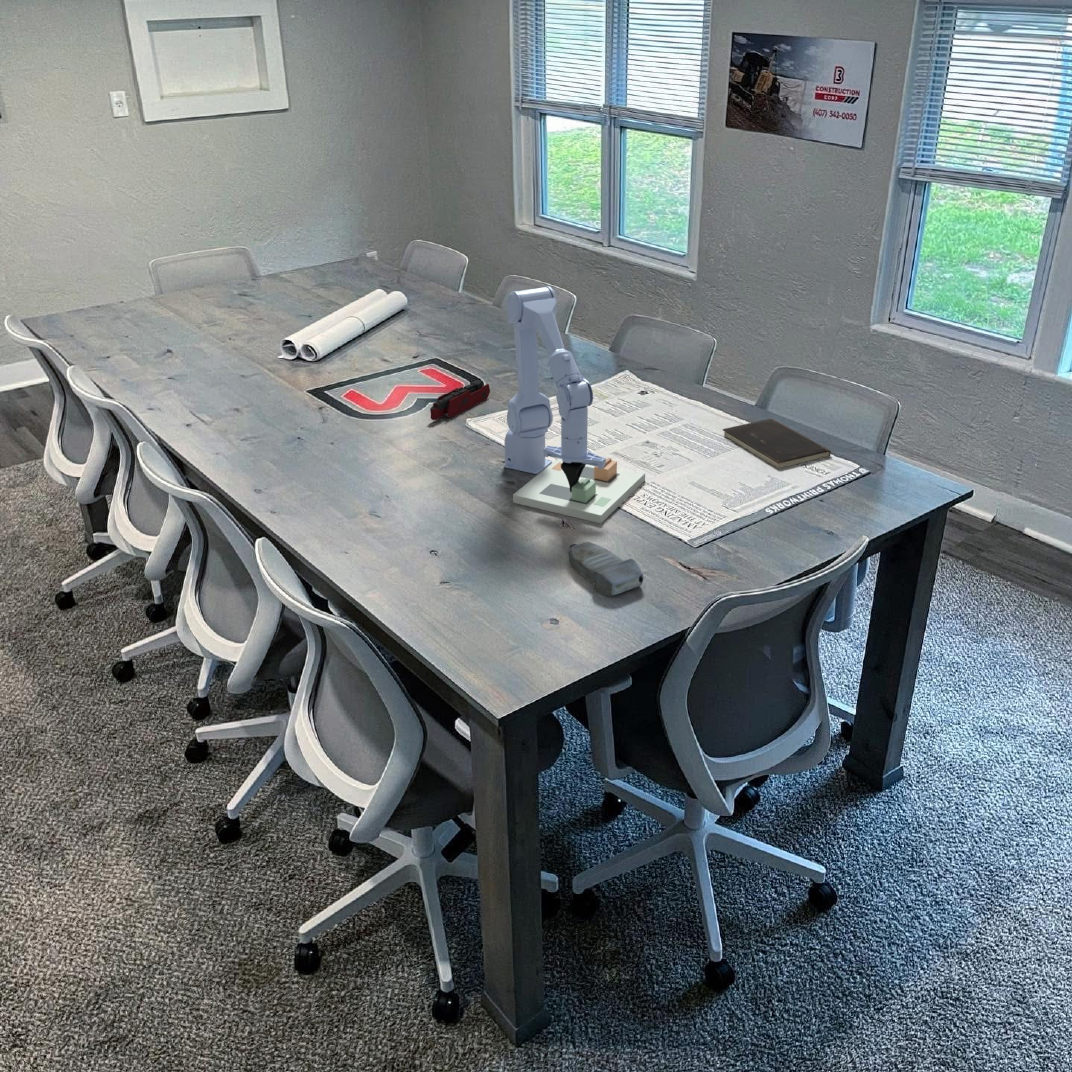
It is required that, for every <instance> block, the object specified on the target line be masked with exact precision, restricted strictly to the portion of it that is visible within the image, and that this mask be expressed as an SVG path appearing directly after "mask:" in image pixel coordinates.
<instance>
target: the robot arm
mask: <svg viewBox="0 0 1072 1072" xmlns="http://www.w3.org/2000/svg"><path fill="white" fill-rule="evenodd" d="M557 299H558V298H557V295H556V292H555V290H554V289H553V288H552V287H551V286H549V285H547V286H543V287H538V288H537V287H536V288H530V289H523V290H512V291H511V292H510V293H509V295H508V296H507V298H506V310H507V319H508V320H507V321H508V324H509V325H510V326H511V325H512V326H513V330H514V341H515V343H514V344H515V345H514V346H515V358H516V371H517V372H516V373H517V387H518V392H517V393H516V394H515V395H514V396H513V397H512V398H510V399H509V401H508V402H507V412H506V413H507V414H506V423H507V427H508V430H507V431H506V433H505V437H504V464H503V467H504V468H506V469H511V470H515V471H520V472H525V473H529V474H534V475H538V474H539V473H541V472H542V471H543V470H544V469H546V468H547V467H548V466H549V465H551V464H552V463H553V460H551V459H546V458H548V457H550V458H556V459H558V458H560V459H562V461H563V463H562V464H561V469H562V470H563V472H564V473H565V475H566V477H567V480H568V483H569V486H570V492H572V487H573V486H574V485H575V484H576V483H578V481H579V478H580V475H581V473H582V471H583V469H584V467H585V465H586V464H587V465H592V466H597V467H598V468H599V469H602V468H604V467H605V466H606V459H607V458H606V457H603V456H600V455H598V454H595V453H593V452H591V451H589V450H588V418H589V417H588V413H589V409H588V408H589V407H590V406H591V405H592V404H593V402H594V392H593V388H592V385H591V383H590V381H588V379H586V377H585V376H584V375H581V373H580V370H579V368H578V365H577V363H576V361H575V357H574V355H573V353H572V352H571V351H570V350H567V349H565V346H564V342H563V339H562V336H561V332H560V330H559V326H558V322H557V320H556V319H557V318H556V316H557V311H558V300H557ZM537 334H538V335H539V337H540V339H541V341H542V344H543V345H544V347H545V349H546V351H547V353H548V354H549V357H548V360H547V362H546V363H547V366H548V368H549V371H550V373H551V377H552V378H553V381H554V383H555V386H556V389H557V390H556V393H555V396H556V397H555V399H556V403H557V406H558V415H559V416H560V418H561V419H560V423H561V424H560V425H561V427H560V428H561V429H560V433H561V434H560V435H561V436H560V437H561V438H560V439H561V440H560V441H561V442H560V446H553V445H546V433H548V432H549V431H548V430H549V428H550V427H551V426H552V424H553V421H554V415H553V411H552V407H551V401H550V398H549V397H547V395H545V394H544V393H542V392H541V391H540V389H541V388H540V377H539V376H540V375H539V374H540V373H539V359H538V358H539V357H538V356H539V355H538V342H537V340H538V339H537Z"/></svg>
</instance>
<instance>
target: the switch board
mask: <svg viewBox="0 0 1072 1072" xmlns="http://www.w3.org/2000/svg"><path fill="white" fill-rule="evenodd" d="M562 463H563V461H562V459H560V458H556V459H555V460H554V461H552V463H551V464H550V465H548V466H547V467H546V468H545V469H543V470H542V471H541V472H540V473H538V474H536V476H535V477H533V478H532V479H530V480H529V481H528V482H527V483H525V484H524V485H523V486H522V487H521V488H520V489H518V490H516V492H514V493H513V494H512V502H513V504H517V505H518V504H519V505H523V506H526V507H531V508H535V509H539V510H543V511H547V512H551V513H556V514H560V515H564V516H569V517H572V518H577V519H581V520H584V521H589V522H593V523H598V524H602V523H603V522H604V521H605V520H606V519H607V518H608V517H609V516H610V515H611V514H612V513H614V511H615V510H617V508H618V507H619V506H620V505H622V502H623V503H624V502H625V501H626V500H627V499H628V498H629V497H630V496H631V495H632V494H633V493H634V492H635V491H636V490H637V489H638V488H639V487H640V486H641V485H642V484H643V483H644V482H646V472H643V471H642V472H641V471H637V470H633V469H628V468H625V467H620V466H617V473H616V474H615V475H614V476H613V477H612V478H611V479H610V480H609V481H603V480H599V479H594V466H592V465H587V464H586V465H585V467H584V469H583V471H582V473H581V475H580V478H579V481H580V480H581V479H586V478H590V481H594V482H596V494H595V495H594V496H593V497H592V498H591V499H589V500H588V501H587V502H586V503H584V502H580V501H576V500H572V492H570V486H569V483H568V480H567V477H566V475H565V473H564V472H563V470H562V469H561V464H562ZM579 481H578V482H579ZM624 500H625V501H624Z"/></svg>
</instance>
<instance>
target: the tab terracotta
mask: <svg viewBox="0 0 1072 1072" xmlns="http://www.w3.org/2000/svg"><path fill="white" fill-rule="evenodd" d="M617 467H618V461H616V460H612V458H611V457H607V458H606V466H605V467H604V468H602V469H599V468H598V467H597V466H594V479H599V480H603V481H609V480H610V479H611V478H612V477H613V476H614V475H615V474H616V473H617Z"/></svg>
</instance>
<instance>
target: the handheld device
mask: <svg viewBox="0 0 1072 1072" xmlns="http://www.w3.org/2000/svg"><path fill="white" fill-rule="evenodd" d="M567 554H568V562H569V565H570V567H571V568H572V569H573V570H574V571H575V572H577V573H578V574H580V575H581V576H582V577H584V578H586V579H587V580H588V581H590V582H592V583H593V584H592V585H593V590H594V591H595V593H598V594H601V595H604V596H611V597H613V596H616V595H619V594H621V593H625V592H627V591H630V590H632V589H635V588H639V587H640V586H642V585H643V582H644V574H643V571H642V569H641V567H640V566H639V564H638V563H637V561H636V560H635V559H633V558H628V559H622V558H621V557H619V556H618V555H617V554H615V553H613V552H612V551H611V550H609V549H607V548H605V547H604V546H601V545H599V544H597V543H593V542H591V541H585V542H584V541H583V542H581V543H571V544H570V545H569V547H568V551H567Z"/></svg>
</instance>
